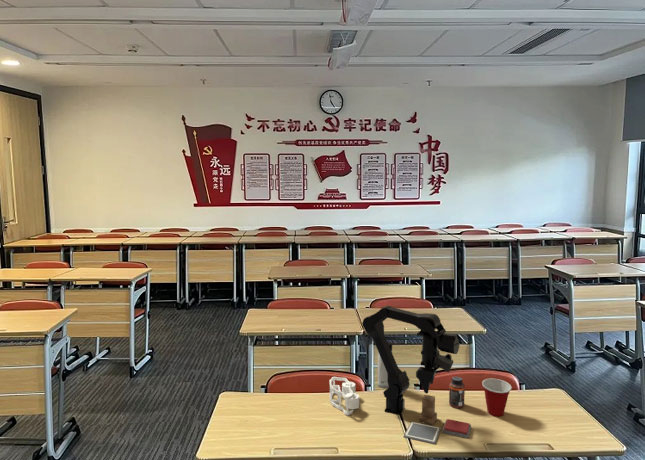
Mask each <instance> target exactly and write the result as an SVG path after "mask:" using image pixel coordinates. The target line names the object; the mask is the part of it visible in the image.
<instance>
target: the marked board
mask: <svg viewBox="0 0 645 460" xmlns="http://www.w3.org/2000/svg"><path fill="white" fill-rule="evenodd" d="M441 431H442V427H439V426H434V425H431V424H426V423H421V422H415V421H410V423H409V425H408V426H407V429H406V431H405V433H404V435H403V438H406V439H411V440H415V441H420V442H424V443H428V444H433V445H436V443H437V440H438V437H439V436H440V433H441Z"/></svg>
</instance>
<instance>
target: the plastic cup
mask: <svg viewBox="0 0 645 460" xmlns="http://www.w3.org/2000/svg"><path fill="white" fill-rule="evenodd" d="M481 384H482V388H483V390H484V391H483V392H484V398H485V402H486V404H485V405H486V409H487V413H488V415H489V416H492V417H497V418H499V417H502V416H504V414H505V409H506V407H507V402H508V398H509V395H510V392H511V390H512V389H513V387H512V385H511V384H510V383H509V382H507V381H505V380H502V379H498V378H492V377H490V378H485V379H484V380H482V382H481Z"/></svg>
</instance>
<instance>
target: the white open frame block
mask: <svg viewBox="0 0 645 460" xmlns="http://www.w3.org/2000/svg"><path fill="white" fill-rule="evenodd" d="M336 381H340V382H342V384H341V386H340V385H339V384H336ZM334 393H335V394H334ZM334 395H337V399H333V396H334ZM342 397H343V399H344V406H345V407H343V406H342ZM329 402H330V404H331V405H332V407H334V408H336V409H337V410H340V411H342V412H343V414H344V415H345V416H350V415H353V413H354V410H356V409H359V407H360V395H359V394H358V393H356V383H355V382H353V381H349V380H348V379H347V377H339V376H338V377H337V376H332V377H331V379H329ZM345 408H346V409H345Z"/></svg>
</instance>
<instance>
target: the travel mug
mask: <svg viewBox="0 0 645 460" xmlns="http://www.w3.org/2000/svg"><path fill="white" fill-rule="evenodd" d="M387 343H388V345H389V347H390V350H391V352H392V353H393V343H392V342H391V341H387ZM377 387H379V388H380V389H385V390H386V389H388V388H389V386H388V382H387V371H386V369H385V366H384V364H383V362H382V359H381V357H380V355H379V352H378V351H377Z"/></svg>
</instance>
